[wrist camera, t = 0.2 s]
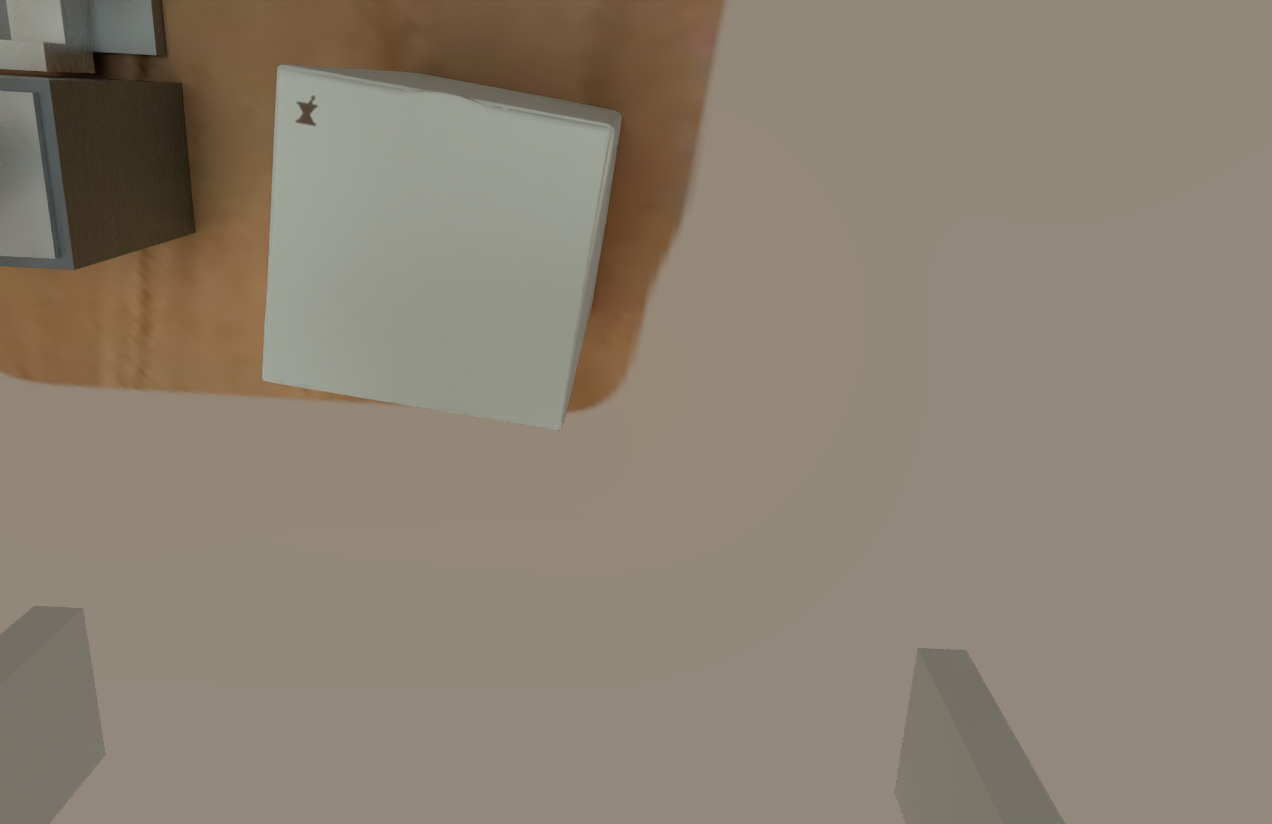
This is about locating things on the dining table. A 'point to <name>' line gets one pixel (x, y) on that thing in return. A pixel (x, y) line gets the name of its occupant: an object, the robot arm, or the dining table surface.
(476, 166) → the supplement box
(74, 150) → the grey button housing
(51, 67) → the rail
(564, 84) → the dining table surface
